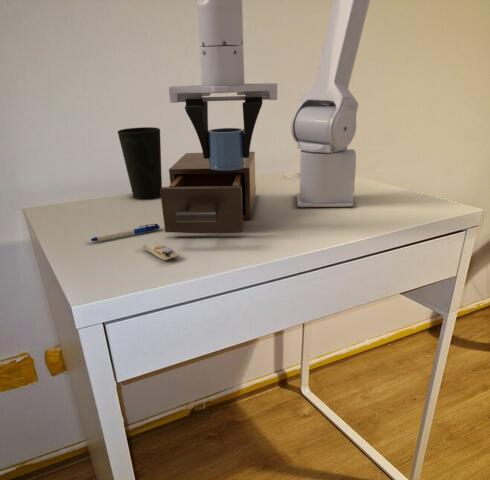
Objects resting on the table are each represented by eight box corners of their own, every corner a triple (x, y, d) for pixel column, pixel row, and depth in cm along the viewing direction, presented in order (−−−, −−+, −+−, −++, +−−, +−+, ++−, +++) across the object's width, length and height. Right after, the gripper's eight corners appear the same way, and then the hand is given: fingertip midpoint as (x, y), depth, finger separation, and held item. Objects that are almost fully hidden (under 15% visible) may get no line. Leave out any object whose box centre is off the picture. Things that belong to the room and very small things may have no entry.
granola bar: (141, 249, 65) (140, 242, 64) (156, 245, 66) (155, 238, 65) (164, 263, 60) (163, 255, 59) (180, 258, 61) (179, 251, 60)
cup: (171, 190, 94) (164, 126, 88) (161, 200, 88) (153, 132, 82) (134, 191, 95) (125, 127, 89) (122, 201, 88) (111, 133, 82)
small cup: (246, 163, 70) (245, 127, 67) (243, 170, 65) (242, 132, 63) (212, 164, 70) (210, 128, 68) (207, 171, 66) (205, 133, 63)
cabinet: (250, 219, 75) (249, 167, 71) (174, 220, 76) (168, 169, 72) (255, 196, 88) (254, 151, 84) (190, 197, 89) (186, 153, 85)
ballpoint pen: (158, 228, 73) (157, 221, 72) (160, 229, 72) (159, 223, 72) (91, 241, 68) (90, 235, 68) (93, 243, 67) (91, 236, 67)
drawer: (239, 243, 63) (237, 196, 60) (157, 244, 64) (151, 198, 61) (248, 206, 79) (247, 168, 76) (182, 207, 80) (178, 169, 77)
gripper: (159, 48, 57) (171, 163, 64) (277, 43, 56) (276, 161, 63) (171, 49, 63) (180, 154, 70) (277, 45, 62) (277, 152, 69)
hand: (226, 157), depth 67 cm, fingers closed on small cup, 5 cm apart
